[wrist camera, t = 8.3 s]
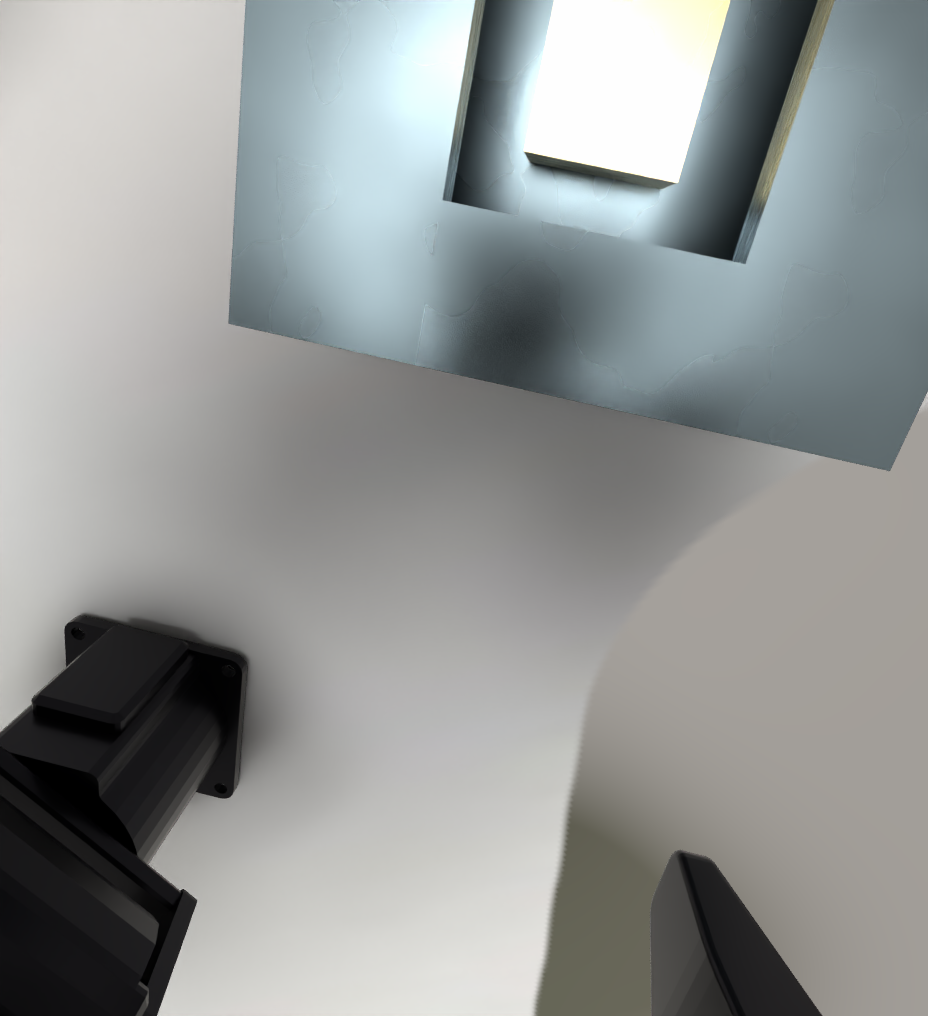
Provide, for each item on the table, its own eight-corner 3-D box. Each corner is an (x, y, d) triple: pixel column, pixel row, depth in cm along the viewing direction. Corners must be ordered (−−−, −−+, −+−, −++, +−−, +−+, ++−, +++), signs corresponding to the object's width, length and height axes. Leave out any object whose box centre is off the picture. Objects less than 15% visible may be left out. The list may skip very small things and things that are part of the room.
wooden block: (661, 189, 16) (678, 182, 14) (529, 161, 16) (523, 151, 14) (751, -132, 14) (788, -204, 12) (596, -161, 14) (602, -237, 12)
